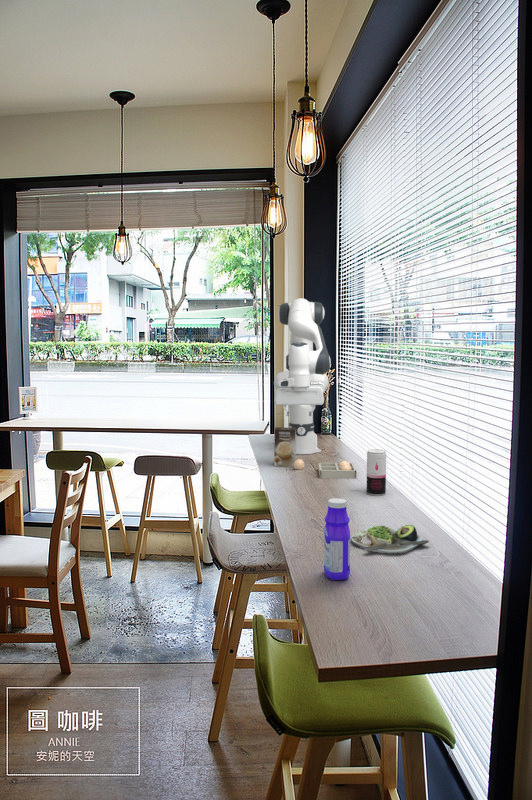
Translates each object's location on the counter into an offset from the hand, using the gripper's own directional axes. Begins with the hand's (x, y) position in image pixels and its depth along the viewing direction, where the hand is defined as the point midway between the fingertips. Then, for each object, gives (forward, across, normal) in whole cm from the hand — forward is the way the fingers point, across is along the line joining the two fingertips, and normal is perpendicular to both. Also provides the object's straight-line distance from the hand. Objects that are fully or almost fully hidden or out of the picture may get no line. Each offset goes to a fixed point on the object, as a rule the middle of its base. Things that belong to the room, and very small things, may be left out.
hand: (299, 416), depth 233 cm
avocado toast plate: (+26, -24, +84) cm, 91 cm away
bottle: (+26, -9, +106) cm, 109 cm away
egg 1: (+22, 0, 0) cm, 23 cm away
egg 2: (+22, -18, +5) cm, 29 cm away
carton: (+23, -15, +9) cm, 29 cm away
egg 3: (+22, -18, +12) cm, 31 cm away
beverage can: (+24, -27, +35) cm, 50 cm away
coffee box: (+22, +6, -9) cm, 25 cm away
